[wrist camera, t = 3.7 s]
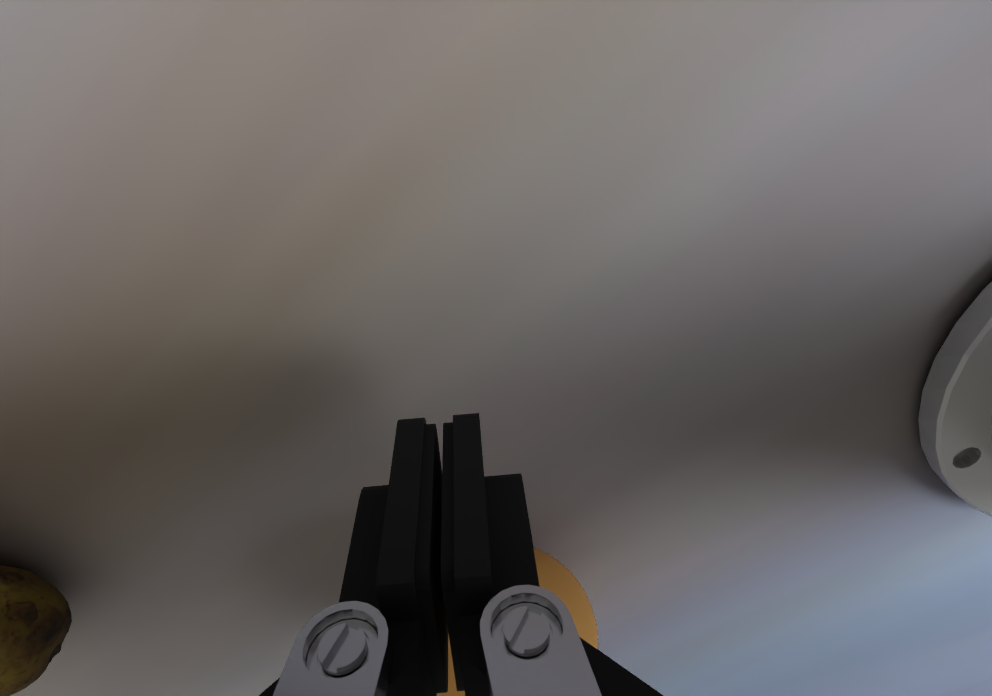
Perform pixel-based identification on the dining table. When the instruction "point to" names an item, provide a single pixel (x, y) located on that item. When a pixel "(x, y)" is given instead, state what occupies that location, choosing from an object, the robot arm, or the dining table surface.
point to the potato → (28, 627)
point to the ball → (566, 589)
